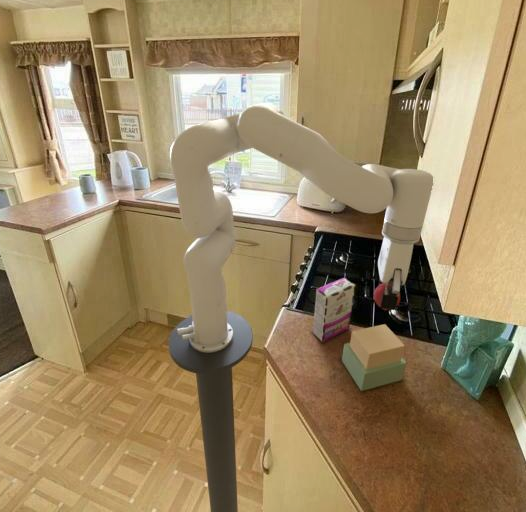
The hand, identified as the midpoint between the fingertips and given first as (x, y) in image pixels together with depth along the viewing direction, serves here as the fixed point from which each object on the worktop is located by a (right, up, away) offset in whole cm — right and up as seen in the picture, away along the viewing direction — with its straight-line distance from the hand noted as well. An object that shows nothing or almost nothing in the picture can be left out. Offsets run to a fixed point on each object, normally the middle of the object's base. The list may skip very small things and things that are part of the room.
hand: (386, 298), depth 73 cm
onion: (0, -3, +1) cm, 3 cm away
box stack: (0, -21, +10) cm, 23 cm away
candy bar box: (-9, -15, +23) cm, 29 cm away
